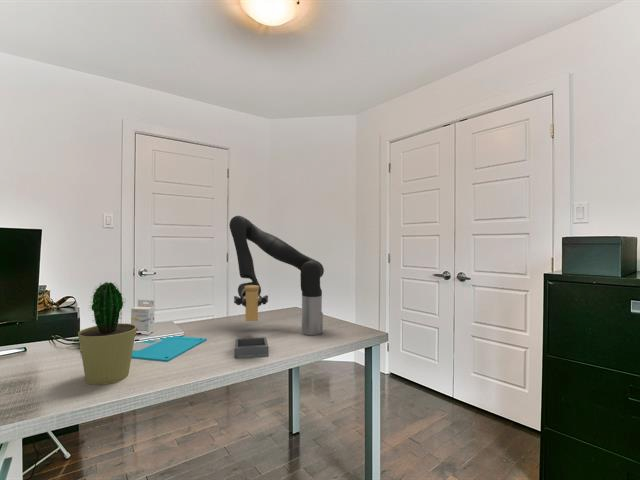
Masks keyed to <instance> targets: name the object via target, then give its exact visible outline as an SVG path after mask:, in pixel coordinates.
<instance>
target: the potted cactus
mask: <svg viewBox="0 0 640 480" xmlns="http://www.w3.org/2000/svg"><path fill="white" fill-rule="evenodd" d="M93 291H94V292H92V294H93V295H92V297H91V299H92V301H89V302H90V303H91V305H89V307H91V310H89V311H93V319H92V321H91V320H90V321H91V323H95V325H94V326H91V327H87V328H83V329H81V330H80V331H78V332H77V335H78V337H77V338H78V341H79V349H80V355H81V360H82V367H83V373H84V377H85V382H86V384H88V385H92V386H93V385H94V386H98V385H99V386H100V385H101V386H102V385H108V384H112V383H116V382H117V383H118V382H119V381H122V380H124V379H126V378H127V377H128V376H129V374H130V369H131V361H132V358H131V357H132V351H133V345H134V340H136V338H135V337H136V334H135V333H136V328H137V326H136V325H134V324H131V323H126V322H125V323H121V322H119V321H120V320H121V319H122V317H121V316H123V312H122V309H124V308H125V307H124V306H125V305H124V303H126V301H127V299H126V298H123V293H122V292H120V289H119V286H118V283H116V282H112V281H109V282H108V281H104V282H103V284H102V283H101V282H100V283H99V284H98V285H97V286H96V287H95V288H93Z"/></svg>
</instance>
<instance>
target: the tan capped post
mask: <svg viewBox="0 0 640 480" xmlns="http://www.w3.org/2000/svg"><path fill="white" fill-rule="evenodd" d="M245 291H246V307H245V322H258V320H259V310H258V309H259V306H258V291H259V286H258V285H247V286H245Z"/></svg>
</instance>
